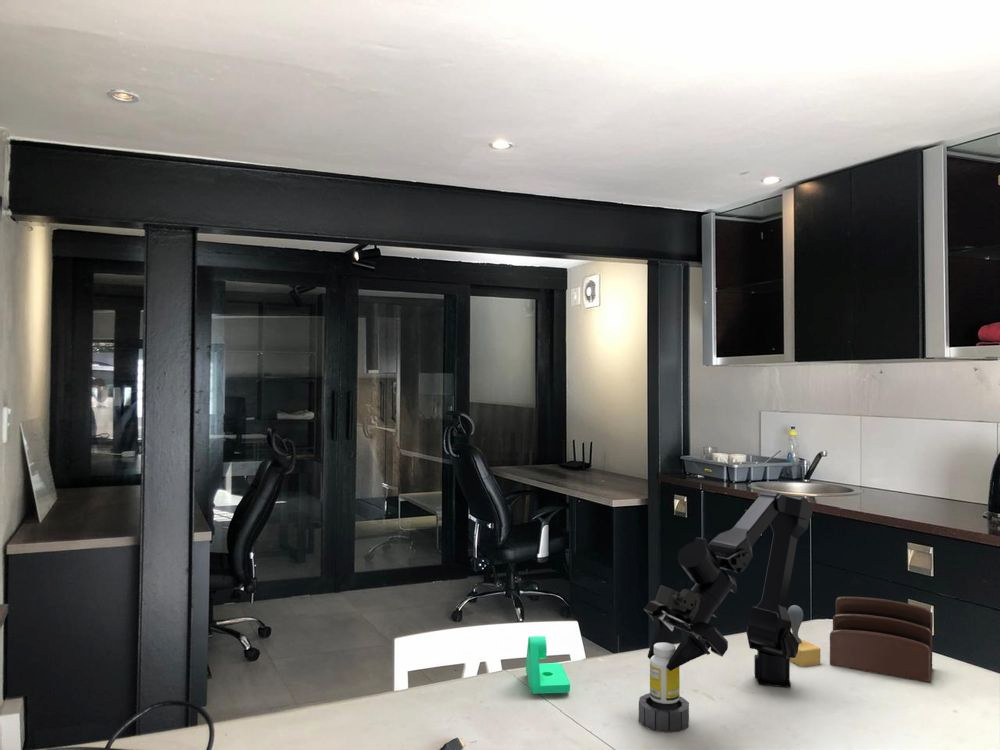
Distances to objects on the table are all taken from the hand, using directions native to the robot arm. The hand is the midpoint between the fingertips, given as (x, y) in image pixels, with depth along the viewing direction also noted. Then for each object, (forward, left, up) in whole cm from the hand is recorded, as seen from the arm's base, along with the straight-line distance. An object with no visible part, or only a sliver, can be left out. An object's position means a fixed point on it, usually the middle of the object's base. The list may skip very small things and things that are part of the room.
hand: (658, 663), depth 144 cm
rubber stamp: (-28, -43, -11) cm, 52 cm away
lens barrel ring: (-1, -1, -11) cm, 11 cm away
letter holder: (-46, -42, -11) cm, 63 cm away
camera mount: (+23, -11, -11) cm, 28 cm away
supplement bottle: (-1, -1, -7) cm, 7 cm away
